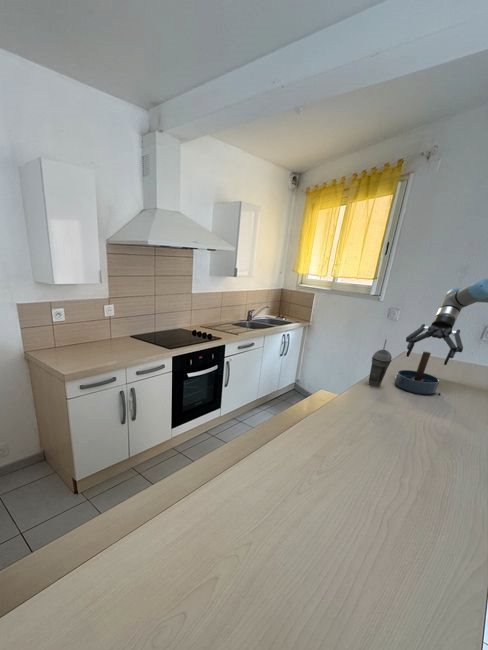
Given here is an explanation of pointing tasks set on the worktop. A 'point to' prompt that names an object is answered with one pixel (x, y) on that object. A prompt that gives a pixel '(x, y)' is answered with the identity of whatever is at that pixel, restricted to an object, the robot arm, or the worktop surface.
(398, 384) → the bowl
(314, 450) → the worktop surface
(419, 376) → the rusty bolt
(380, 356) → the beverage cup
